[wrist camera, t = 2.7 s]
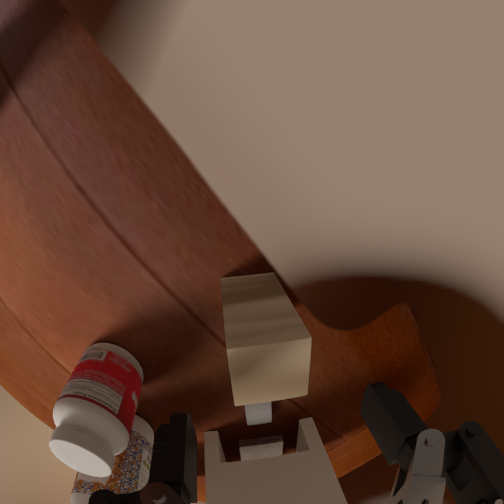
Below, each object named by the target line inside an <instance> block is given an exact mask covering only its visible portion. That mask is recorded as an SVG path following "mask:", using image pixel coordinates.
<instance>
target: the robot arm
mask: <svg viewBox="0 0 504 504" xmlns="http://www.w3.org/2000/svg"><path fill="white" fill-rule="evenodd" d="M361 415H362V418H363V420H364V421H365V423H366V425H367V427H368V428H369V430H370V432H371V434H372V435H373V437H374V439H375V441H376V442H377V444H378V446H379V448H380V449H381V451H382V453H383V455H384V456H385V458H386V460H387V462H388V463H389V465H392V464H395V463H397V462H398V464H399V465H400V466H399V468H398V471H397V475H396V479H395V482H394V486H393V489H392V492H391V495H390V499H389V501H388V503H387V504H442V501H443V495H444V490H445V483H446V484H447V486H448V488H449V490H450V492H451V493H452V495H453V497H454V499H455V501H456V502H457V504H504V456H503V454H502V453H501V452H500V450H499V449H498V448H497V446H496V445H495V444H494V442H493V441H492V440H491V438H490V437H489V436H488V434H487V433H486V432H485V431H484V429H483V428H482V427H481V425H479V424H478V423H477V422H474V421H467V422H464V423H463V424H462V425H461V426H460V428H459V429H458V430H456V431H451V432H447V433H441V432H440V431H438V430H435V429H428V427H427V426H426V425H425V424H424V422H423V421H422V420H421V418H420V417H419V416H418V414H417V413H416V412H415V410H414V409H413V408H411V405H410V404H409V403H408V402H407V400H406V399H405V397H404V396H403V395H402V394H401V393H400V392H398V391H396V390H395V389H390V390H389V389H388V387H387V386H386V385H385V383H384V382H378V383H375V384H371V385H368V386H367V387H366V389H365V393H364V397H363V400H362V404H361ZM465 458H466V459H467V460H466V459H465ZM467 461H468V462H467ZM468 463H469V464H470V465H469V464H468ZM470 466H471V467H472V468H471V467H470ZM472 469H473V470H474V471H473V470H472ZM190 503H197V437H196V432H195V429H194V426H193V423H192V420H191V417H190V414H189V413H172V414H171V419H170V424H161V425H160V427H159V428H158V430H157V431H156V433H155V438H154V444H153V452H152V458H151V465H150V472H149V479H148V482H147V484H146V485H145V486H144V487H143V488H142V489H140V490H139V491H136V492H131V493H124V494H116V493H114V492H113V491H111V490H107V489H100V490H97V491H95V492H93V493H92V494H91V496H90V498H89V502H88V504H190Z"/></svg>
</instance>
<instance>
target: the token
mask: <svg viewBox="0 0 504 504" xmlns="http://www.w3.org/2000/svg"><path fill="white" fill-rule="evenodd" d="M238 441H239V448H240V455H241V461H246V460H255V459H262V458H269V457H275V456H281V455H282V453H283V439H282V435H277V436H271V437H264V438H256V439H247V440H238Z"/></svg>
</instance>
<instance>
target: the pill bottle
mask: <svg viewBox="0 0 504 504" xmlns="http://www.w3.org/2000/svg"><path fill="white" fill-rule="evenodd" d="M143 378H144V377H143V370H142V368H141V366H140V364H139V362H138V361H137V360H136V358H135V357H134V356H133V355H132V354H130V353H129V352H128V351H126V350H125V349H123V348H121V347H119V346H117V345H114V344H110V343H97V344H94V345H91V346H90V347H89V348H87V349H86V351H85V352H84V354H83V355H82V357H81V359H80V360H79V362H78V364H77V366H76V367H75V369H74V371H73V372H72V374H71V376H70V378H69V380H68V382H67V384H66V385H65V387H64V389H63V391H62V393H61V394H60V396H59V398H58V400H57V402H56V404H55V406H54V410H53V419H54V422H55V425H56V428H55V430H54V431H53V433H52V436H51V439H50V442H49V446H50V449H51V451H52V452H53V453H54V455H55V456H56V457H57V458H58V459H59V460H61V461H62V462H63V463H65V464H66V465H68V466H69V467H71V468H72V469H74V470H76V471H78V472H81V473H83V474H86V475H90V476H94V477H107V476H109V475H110V474H111V473H112V469H113V465H114V459H115V455H118V454H120V453H122V452H123V451H124V450H125V449H126V448H127V446H128V443H129V439H130V435H131V430H132V425H133V421H134V417H135V412H136V408H137V404H138V400H139V396H140V393H141V389H142V384H143Z"/></svg>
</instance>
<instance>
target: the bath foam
mask: <svg viewBox="0 0 504 504" xmlns="http://www.w3.org/2000/svg"><path fill="white" fill-rule="evenodd" d="M153 440H154V433H153V430H152V428H151V426H150V425H149V424H148V423H147V422H146V421H145V420H144V419H142V418H141V417H139V416H138V415H136V414H135V417H134V421H133V425H132V430H131V435H130V439H129V443H128V446H127V448H126V449H125V450H124V451H123V452H122V453H120V454H118V455H115V459H114V465H113V469H112V473H111V474H110V475H109V476H107V477H94V476H90V475H86V474H83V473H81V472H77V475H76V479H75V482H74V486H73V490H72V493H71V504H88V502H89V498H90V496H91V494H92V493H93V492H95V491H97V490H100V489H107V490H111V491H113V492H114V493H116V494H124V493H131V492H136V491H139V490H140V489H142V488H143V487H144V486H145V485H146V484H147V482H148V479H149V472H150V464H151V456H152V447H153Z"/></svg>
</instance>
